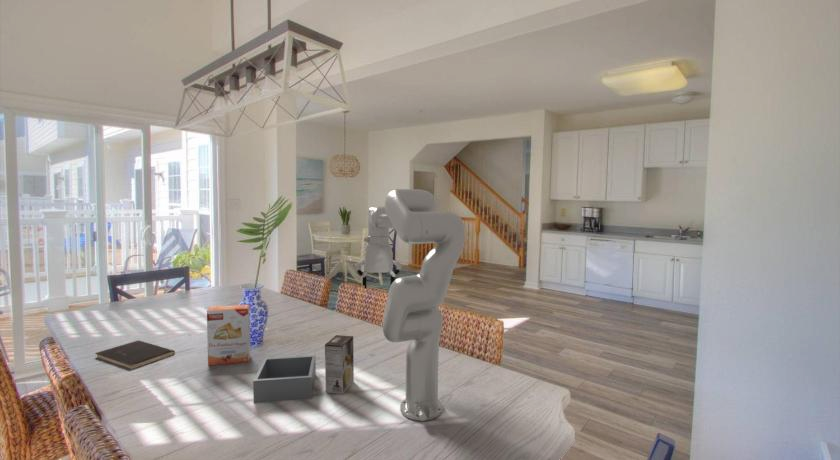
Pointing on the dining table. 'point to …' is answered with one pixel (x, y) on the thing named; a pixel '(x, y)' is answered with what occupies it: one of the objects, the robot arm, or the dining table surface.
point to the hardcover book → (134, 354)
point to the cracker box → (228, 334)
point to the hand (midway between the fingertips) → (378, 287)
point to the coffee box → (339, 364)
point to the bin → (285, 379)
